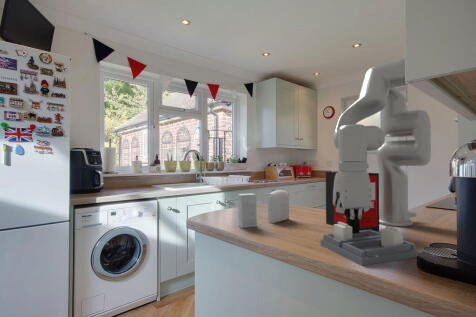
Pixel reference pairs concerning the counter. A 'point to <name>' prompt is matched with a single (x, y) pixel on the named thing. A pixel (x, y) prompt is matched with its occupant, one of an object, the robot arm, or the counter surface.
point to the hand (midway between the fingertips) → (352, 232)
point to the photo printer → (278, 206)
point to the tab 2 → (391, 236)
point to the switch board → (368, 248)
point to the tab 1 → (342, 231)
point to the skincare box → (247, 210)
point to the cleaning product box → (332, 217)
